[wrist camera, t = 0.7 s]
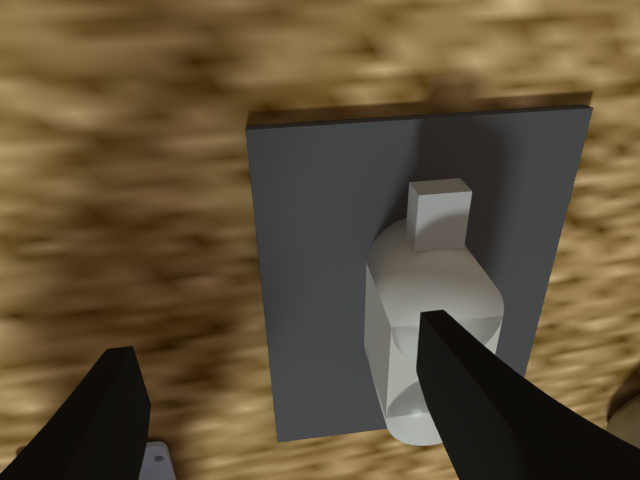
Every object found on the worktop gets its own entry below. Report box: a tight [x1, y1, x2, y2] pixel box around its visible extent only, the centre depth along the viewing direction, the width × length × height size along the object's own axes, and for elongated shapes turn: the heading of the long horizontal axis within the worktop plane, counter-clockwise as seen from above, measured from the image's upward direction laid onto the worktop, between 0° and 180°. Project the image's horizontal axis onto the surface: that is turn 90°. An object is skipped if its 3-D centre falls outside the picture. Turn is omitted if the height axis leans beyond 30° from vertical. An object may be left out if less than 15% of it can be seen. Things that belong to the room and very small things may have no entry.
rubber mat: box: [246, 105, 593, 442], centre depth 24 cm, size 18×14×1 cm
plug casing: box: [364, 178, 504, 446], centre depth 21 cm, size 12×4×4 cm, turn 1°
